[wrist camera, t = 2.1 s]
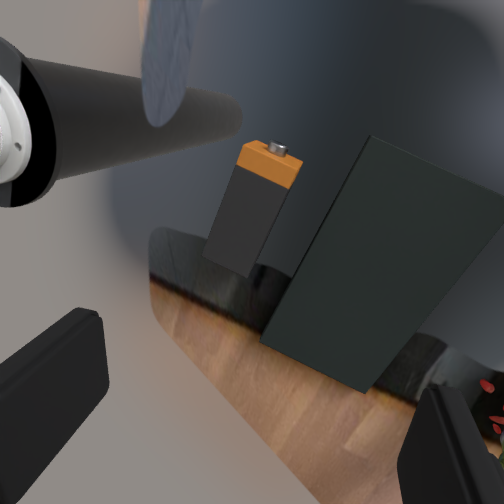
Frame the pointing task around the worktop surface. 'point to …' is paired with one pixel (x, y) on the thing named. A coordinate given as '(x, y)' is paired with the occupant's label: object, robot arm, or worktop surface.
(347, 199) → the mat
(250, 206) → the battery
